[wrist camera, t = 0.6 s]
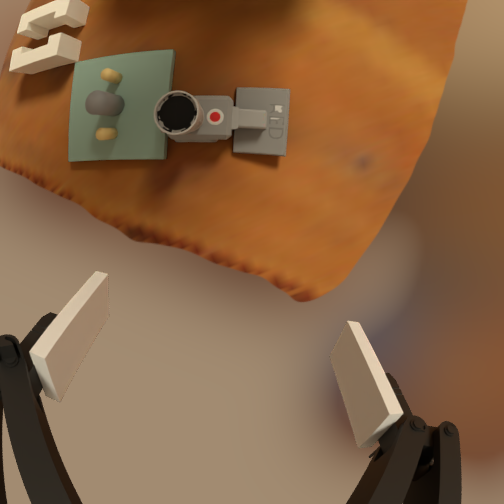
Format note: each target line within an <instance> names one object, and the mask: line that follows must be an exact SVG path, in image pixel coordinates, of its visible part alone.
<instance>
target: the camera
mask: <svg viewBox="0 0 504 504" xmlns="http://www.w3.org/2000/svg"><path fill="white" fill-rule="evenodd" d="M289 101H290V89H279V88H237V89H236V105H235V106H234V103H233V100H232V99H231V98H230V97H229V96H192V95H191V94H189V93H187V92H185V91H180V90H178V91H171V92H168V93H167V94H165V95H163V96H162V97H161V98H160V99H159V100H158V102H157V103H156V105H155V108H154V120H155V123H156V125H157V127H158V128H159V129H160V131H161V132H162V133H167V135H168V136H169V137H170V138H171V139H174V140H175V142H217V141H218V139H224V140H226V139H228V138H229V137H231V136H232V130H234V141H233V153H248V154H262V155H275V156H286V146H287V132H288V117H289Z"/></svg>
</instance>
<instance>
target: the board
mask: <svg viewBox="0 0 504 504" xmlns="http://www.w3.org/2000/svg"><path fill="white" fill-rule="evenodd" d="M175 56H176V52H175V51H174V49H170V50H155V51H144V52H135V53H127V54H119V55H112V56H106V57H101V58H95V59H90V60H85V61H80V62H76V63H75V69H74V76H73V84H72V93H71V104H70V119H69V146H68V162H73V161H91V160H120V159H166V158H167V141H168V135H167V133H162V132H161V131H160V129H159V128H158V127H157V125H156V123H155V120H154V108H155V105H156V103H157V102H158V100H159V99H160V98H161V97H162V96H163V95H165V94H167V93H168V92H171V90H172V80H173V72H174V63H175Z"/></svg>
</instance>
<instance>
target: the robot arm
mask: <svg viewBox="0 0 504 504" xmlns="http://www.w3.org/2000/svg"><path fill="white" fill-rule="evenodd" d="M108 289H109V288H108V274H106V273H102V272H98V271H95V272H94V274H93V275H92V276H91V277H90V278H89V279H88V280H87V281H86V282H85V284H84V285H83V286H82V287H81V288H80V289H79V290H78V292H77V293H76V294H75V295H74V296H73V297H72V299H71V300H70V301H69V302H68V303H67V304H66V306H65V307H64V308H63V309H62V311H61V312H60V313H59V314H58V315H57V314H54V313H51V312H50V313H48V314H47V315H45V316H43V317H42V318H41V319H40V320H39V321H38V322H37V324H36V325H35V326H34V327H33V329H32V331H30V332H29V334H28V335H27V336H26V337H25V338H24V340H23V341H22V342H21V343H20V344H19V341H18V339H17V338H16V337H15V336H12V335H2V336H0V504H7V499H6V492H5V483H4V472H3V458H2V457H3V456H2V420H3V408H4V413H5V418H6V423H7V428H8V432H9V437H10V441H11V445H12V448H13V452H14V455H15V459H16V462H17V465H18V469H19V472H20V475H21V477H22V480H23V483H24V486H25V489H26V491H27V494H28V496H29V499H30V501H31V504H82V502H81V500H80V498H79V496H78V494H77V492H76V490H75V488H74V486H73V484H72V482H71V480H70V478H69V475H68V473H67V471H66V469H65V467H64V464H63V462H62V459H61V457H60V455H59V452H58V450H57V447H56V444H55V442H54V439H53V436H52V433H51V430H50V427H49V424H48V421H47V418H46V415H45V412H44V408H43V405H42V401H41V397H40V396H39V394H40V392H41V390H42V388H43V390H44V392H45V395H46V396H47V397H49V398H51V399H54V400H56V401H58V402H61V400H62V398H63V396H64V394H65V392H66V390H67V388H68V386H69V384H70V383H71V381H72V379H73V377H74V375H75V373H76V372H77V370H78V368H79V366H80V364H81V363H82V361H83V359H84V357H85V356H86V354H87V352H88V350H89V349H90V347H91V345H92V344H93V342H94V340H95V339H96V337H97V335H98V334H99V332H100V330H101V329H102V327H103V325H104V324H105V322H106V320H107V319H108V317H109V290H108ZM330 360H331V363H332V366H333V369H334V372H335V375H336V378H337V381H338V384H339V387H340V391H341V394H342V397H343V400H344V403H345V406H346V410H347V412H348V416H349V419H350V422H351V426H352V429H353V433H354V436H355V439H356V443H357V446H358V448H365V447H372V446H373V445H374V444H375V443H376V442H377V441H379V444H380V446H379V447H378V448H377V449H376V450H375V451H374V452H373V453H372V454H371V455H370V456H369V458H371V457H372V456H373V455H374V456H373V458H372V460H371V461H370V463H369V465H368V467H367V469H366V471H365V473H364V475H363V476H362V478H361V480H360V481H359V483H358V485H357V487H356V488H355V490H354V492H353V493H352V495H351V497H350V498H349V500H348V501H347V503H346V504H402V503H403V504H461V457H460V456H461V454H460V441H459V433H458V429H457V428H456V426H455V425H454V424H453V423H451V422H448V421H445V422H442V423H441V424H440V425H439V426H438V427H432V426H427V425H426V423H425V422H424V420H423V419H421V418H420V417H417V416H413V415H412V413H411V410H410V408H409V406H408V404H407V402H406V400H405V398H404V396H403V395H402V392H401V390H400V389H399V386H398V384H397V382H396V380H395V379H394V378H393V377H392V376H391V375H390V374H389V373H384V371H383V369H382V367H381V365H380V363H379V361H378V359H377V357H376V355H375V353H374V351H373V349H372V347H371V345H370V343H369V341H368V339H367V337H366V335H365V333H364V331H363V329H362V327H361V325H360V324H359V322H352V321H347V323H346V325H345V327H344V329H343V331H342V333H341V335H340V337H339V339H338V341H337V343H336V345H335V347H334V349H333V351H332V353H331V354H330ZM433 460H434V462H433Z"/></svg>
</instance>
